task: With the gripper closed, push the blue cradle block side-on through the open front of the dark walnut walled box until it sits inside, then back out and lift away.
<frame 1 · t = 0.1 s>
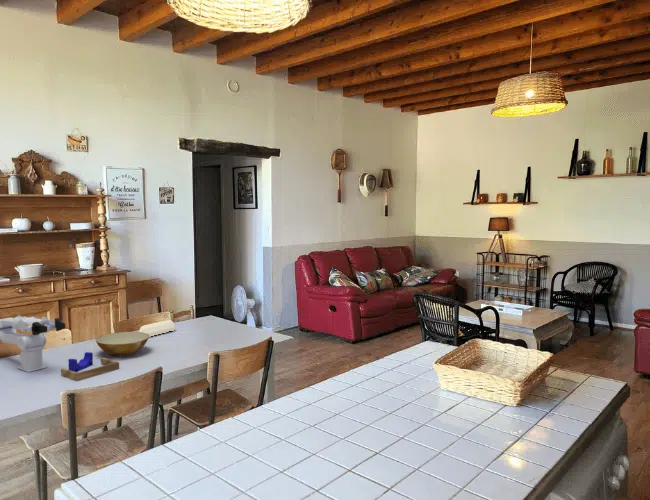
hand: (55, 327, 208), 22 cm above the table, tool horizontal, fingers open, 7 cm apart
bowl: (123, 353, 245), on the table
blue cradle block: (79, 369, 221), on the table
crystal: (156, 335, 283), on the table
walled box: (90, 372, 216), on the table
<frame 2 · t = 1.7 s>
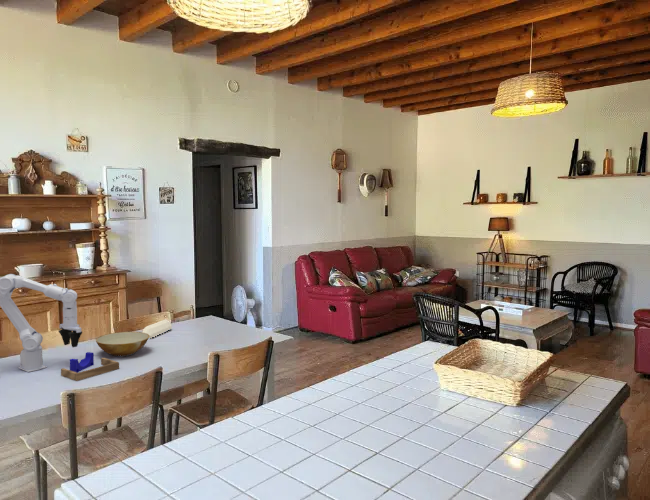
hand: (70, 345, 224), 9 cm above the table, tool pointing down, fingers open, 6 cm apart
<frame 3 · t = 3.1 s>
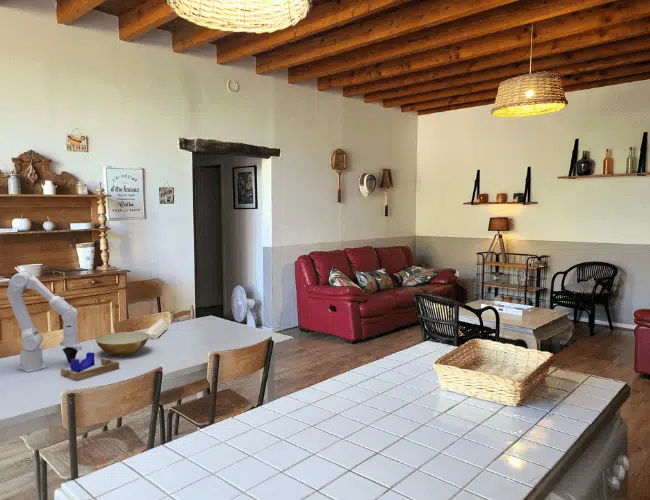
hand: (71, 363, 224), 1 cm above the table, tool pointing down, fingers closed
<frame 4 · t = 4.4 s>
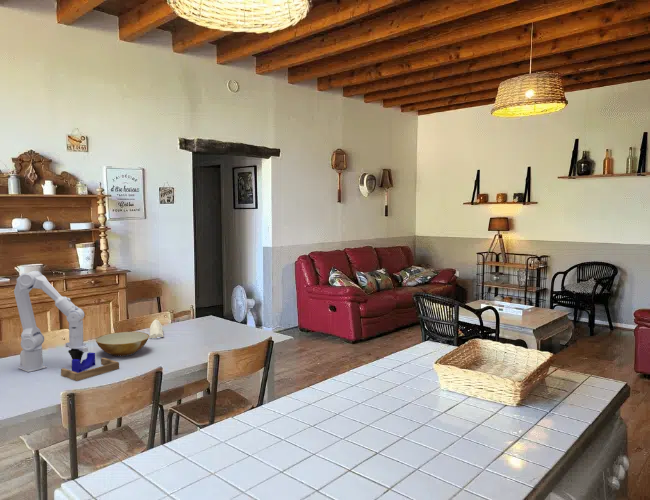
hand: (76, 364, 222), 1 cm above the table, tool pointing down, fingers closed
blue cradle block: (82, 369, 220), on the table, touching gripper
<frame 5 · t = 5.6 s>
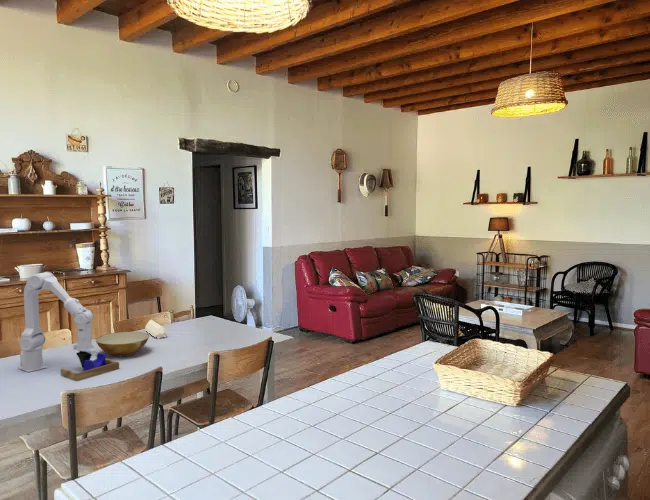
hand: (85, 367, 218), 1 cm above the table, tool pointing down, fingers closed
blue cradle block: (93, 370, 219), on the table, touching gripper, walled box
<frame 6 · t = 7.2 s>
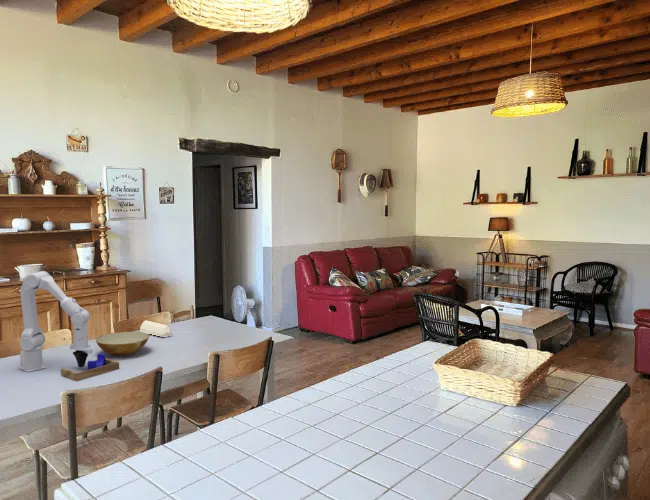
hand: (81, 366, 220), 1 cm above the table, tool pointing down, fingers closed
blue cradle block: (95, 371, 219), on the table
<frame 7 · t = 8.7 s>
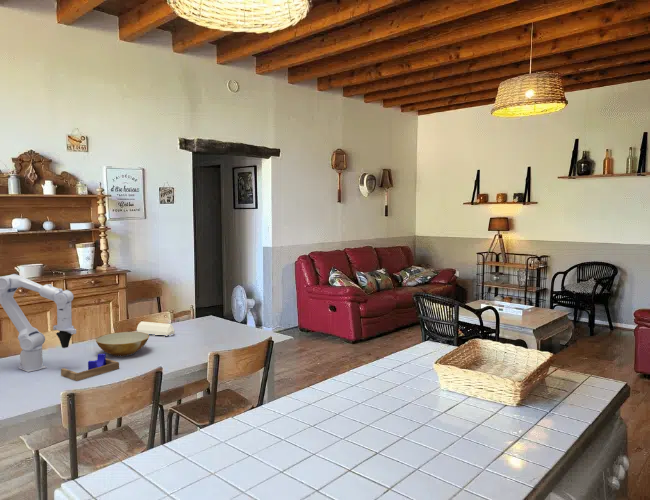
hand: (65, 347, 219), 10 cm above the table, tool pointing down, fingers closed
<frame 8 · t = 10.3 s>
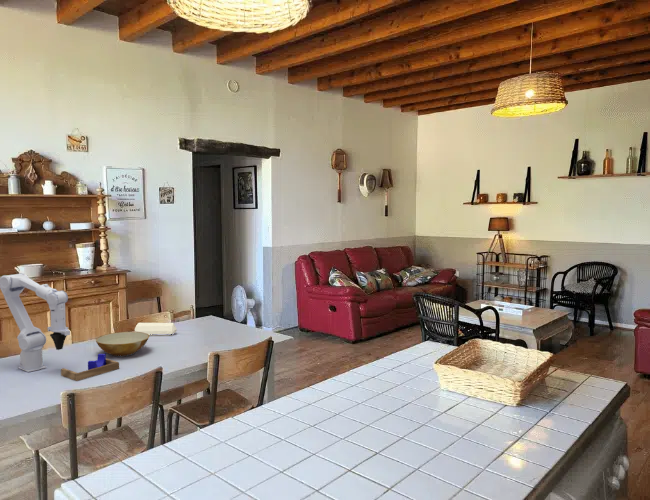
hand: (59, 349, 214), 10 cm above the table, tool pointing down, fingers closed
at the end: blue cradle block inside the target area on the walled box (2.7 cm from its centre), point 0.0 cm above the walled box's base; the gripper is holding nothing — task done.
